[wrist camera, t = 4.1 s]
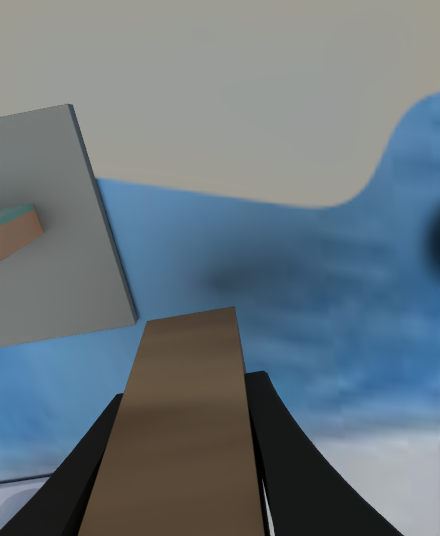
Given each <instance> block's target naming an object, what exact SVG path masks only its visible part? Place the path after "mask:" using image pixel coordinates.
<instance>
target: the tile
mask: <svg viewBox="0 0 440 536" xmlns="http://www.w3.org/2000/svg"><path fill="white" fill-rule="evenodd" d="M42 234H44V233H43V230H42V228H41V225H40V222H39V220H38V217H37V214H36V212H35V209H34V206H33V204H32V203H30V204H25V205H19V206H14V207H9V208H3V209H0V262H1V261H2V260H4V259H6V258H7V257H9V256H10V255H12V254H13V253H15V252H16V251H18V250H19V249H21V248H22V247H24V246H25V245H27V244H29V243H30V242H32V241H33V240H35V239H36V238H38V237H39V236H41V235H42Z"/></svg>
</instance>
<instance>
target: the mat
mask: <svg viewBox="0 0 440 536" xmlns="http://www.w3.org/2000/svg"><path fill="white" fill-rule="evenodd" d="M30 203H32V204H33V206H34V209H35V212H36V214H37V217H38V220H39V222H40V225H41V228H42V230H43V233H44V234H42V235H41V236H39V237H38V238H36V239H35V240H33V241H32V242H30V243H29V244H27V245H25V246H24V247H22V248H21V249H19V250H18V251H16V252H15V253H13V254H12V255H10V256H9V257H7V258H6V259H4V260H2V261H1V262H0V347H6V346H12V345H18V344H24V343H30V342H36V341H42V340H48V339H54V338H60V337H66V336H72V335H78V334H84V333H90V332H96V331H102V330H108V329H114V328H120V327H126V326H132V325H136V322H137V320H138V319H137V315H136V312H135V309H134V306H133V302H132V299H131V296H130V292H129V289H128V286H127V282H126V279H125V276H124V273H123V269H122V266H121V263H120V259H119V256H118V253H117V249H116V246H115V243H114V240H113V236H112V233H111V230H110V226H109V223H108V220H107V217H106V213H105V210H104V207H103V203H102V200H101V197H100V193H99V190H98V187H97V184H96V180H95V177H94V174H93V171H92V167H91V164H90V160H89V157H88V154H87V151H86V147H85V144H84V141H83V137H82V134H81V131H80V128H79V124H78V121H77V118H76V114H75V111H74V108H73V105H71V104H65V105H59V106H54V107H50V108H44V109H40V110H34V111H29V112H24V113H19V114H14V115H9V116H4V117H0V209H3V208H9V207H14V206H19V205H25V204H30Z"/></svg>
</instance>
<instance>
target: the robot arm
mask: <svg viewBox="0 0 440 536" xmlns="http://www.w3.org/2000/svg"><path fill="white" fill-rule="evenodd" d="M244 377H245V386H246V395H247V401H248V407H249V412H250V417H251V423H252V428H253V433H254V439H255V444H256V449H257V455H258V460H259V465H260V471H261V476H262V480H263V484H264V488H265V492H266V497H267V501H268V505H269V509H270V513H271V517H272V522H273V526H274V532H275V536H404V535H402V534H401V533H400V532H399V531H398V530H397V529H396V528H395V527H394V526H393V525H391V524H390V523H389V522H388V521H387V520H386V519H385V518H384V517H383V516H382V515H381V514H379V513H378V512H377V511H376V510H375V509H374V508H373V507H372V506H371V505H370V504H369V503H367V502H366V501H365V500H364V499H363V498H362V497H361V496H360V495H359V494H358V493H357V492H356V491H355V490H354V489H353V488H352V487H351V486H350V485H349V484H348V483H347V482H346V481H345V480H344V479H343V478H342V476H341V475H340V474H339V473H338V472H337V471H336V470H335V469H334V468H333V467H332V466H331V465H330V463H329V462H328V461H327V460H326V459H325V458H324V457H323V455H322V454H321V453H320V452H319V451H318V450H317V448H316V447H315V446H314V445H313V443H312V442H311V441H310V440H309V438H308V437H307V436H306V435H305V433H304V432H303V431H302V429H301V428H300V427H299V425H298V424H297V423H296V421H295V420H294V418H293V417H292V415H291V414H290V413H289V411H288V410H287V408H286V407H285V405H284V404H283V402H282V400H281V399H280V397H279V395H278V394H277V392H276V390H275V389H274V387H273V385H272V383H271V380H270V378H269V376H268V373H266V372H265V371H259V372H252V373H246V374H244ZM123 394H124V393H121V394H117V395H116V396H115V397H114V398H113V400H112V401H111V402H110V403H109V405H108V406H107V407H106V409H105V410H104V411H103V412H102V414H101V415H100V416H99V418H98V419H97V420H96V422H95V423H94V424H93V425H92V427H91V428H90V429H89V431H88V432H87V433H86V434H85V436H84V437H83V438H82V439H81V441H80V442H79V443H78V444H77V446H76V447H75V448H74V449H73V451H72V452H71V453H70V454H69V456H68V457H67V458H66V459H65V460H64V461H63V463H62V464H61V465H60V466H59V467H58V468H57V469H56V471H55V472H54V473H53V474H52V475H51V476H50V477H45V478H39V479H32V480H25V481H18V482H12V483H5V484H0V536H78V533H79V530H80V527H81V524H82V521H83V518H84V515H85V511H86V508H87V505H88V502H89V499H90V496H91V493H92V490H93V487H94V484H95V481H96V477H97V474H98V471H99V468H100V465H101V462H102V459H103V456H104V453H105V450H106V447H107V444H108V440H109V437H110V434H111V431H112V428H113V425H114V422H115V419H116V416H117V413H118V410H119V406H120V403H121V400H122V397H123Z"/></svg>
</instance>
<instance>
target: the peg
mask: <svg viewBox="0 0 440 536" xmlns="http://www.w3.org/2000/svg"><path fill="white" fill-rule="evenodd" d="M244 374H246V367H245V362H244V356H243V351H242V345H241V340H240V335H239V329H238V324H237V318H236V313H235V307H228V308H222V309H216V310H210V311H204V312H198V313H192V314H186V315H180V316H174V317H169V318H163V319H157V320H151V321H147V323H146V326H145V329H144V332H143V335H142V338H141V342H140V345H139V348H138V351H137V354H136V357H135V360H134V363H133V366H132V369H131V372H130V376H129V379H128V382H127V385H126V388H125V391H124V394H123V397H122V400H121V403H120V406H119V410H118V413H117V416H116V419H115V422H114V425H113V428H112V431H111V434H110V437H109V440H108V444H107V447H106V450H105V453H104V456H103V459H102V462H101V465H100V468H99V471H98V474H97V477H96V481H95V484H94V487H93V490H92V493H91V496H90V499H89V502H88V505H87V508H86V511H85V515H84V518H83V521H82V524H81V527H80V530H79V533H78V536H270V529H269V522H268V516H267V509H266V502H265V495H264V488H263V481H262V476H261V471H260V465H259V460H258V455H257V449H256V444H255V439H254V433H253V428H252V423H251V417H250V412H249V407H248V401H247V395H246V386H245V377H244Z"/></svg>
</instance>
